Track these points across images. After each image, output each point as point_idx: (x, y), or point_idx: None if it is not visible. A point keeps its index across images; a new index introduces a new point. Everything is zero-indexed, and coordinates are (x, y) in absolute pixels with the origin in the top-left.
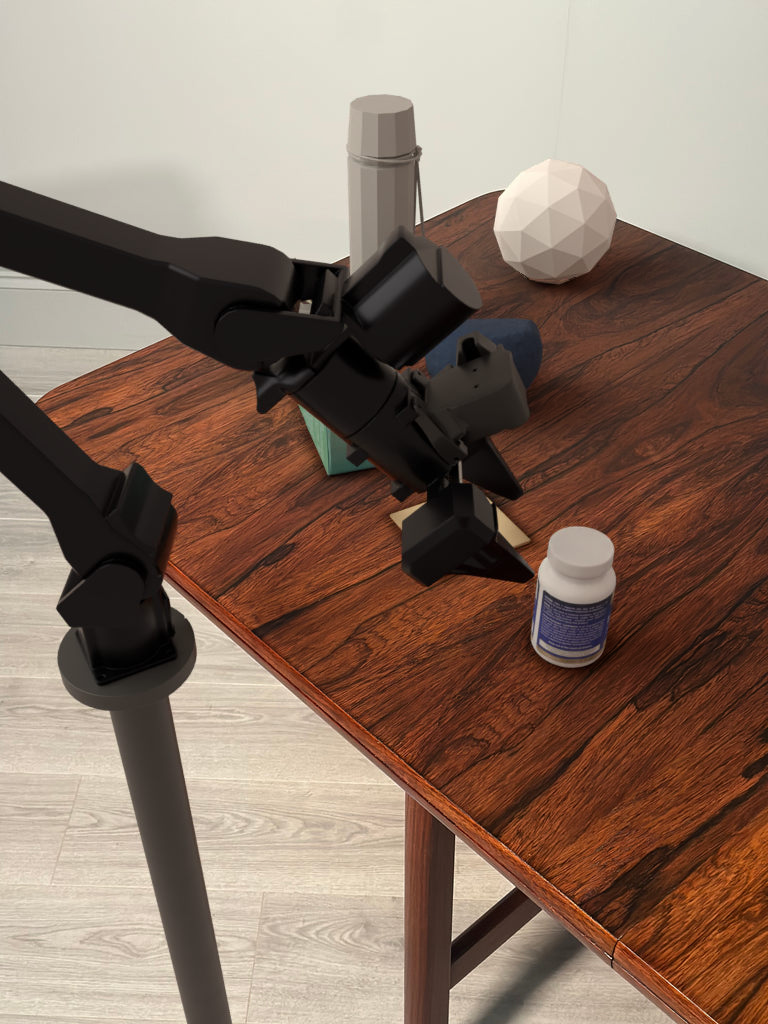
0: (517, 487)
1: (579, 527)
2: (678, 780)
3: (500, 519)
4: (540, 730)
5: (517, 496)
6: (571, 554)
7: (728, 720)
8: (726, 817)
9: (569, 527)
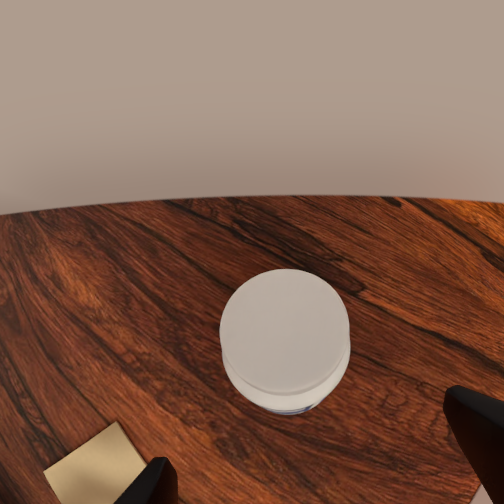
0: (162, 473)
1: (223, 336)
2: (427, 249)
3: (87, 452)
4: (422, 375)
5: (171, 468)
6: (319, 341)
7: (347, 215)
8: (441, 217)
9: (227, 356)
